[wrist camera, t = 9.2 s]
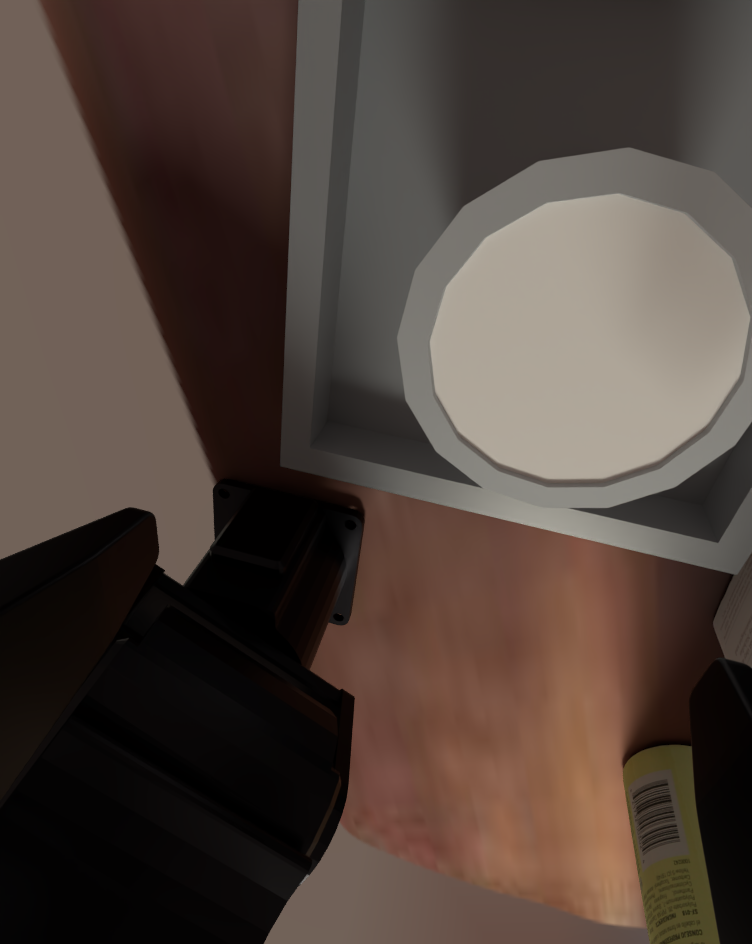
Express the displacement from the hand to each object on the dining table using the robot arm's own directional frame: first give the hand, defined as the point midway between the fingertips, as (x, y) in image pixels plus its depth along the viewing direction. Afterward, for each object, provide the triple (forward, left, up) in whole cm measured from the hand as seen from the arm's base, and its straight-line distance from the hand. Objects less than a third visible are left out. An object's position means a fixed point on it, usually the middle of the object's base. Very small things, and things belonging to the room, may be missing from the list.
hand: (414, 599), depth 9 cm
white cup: (+3, -2, -11) cm, 12 cm away
